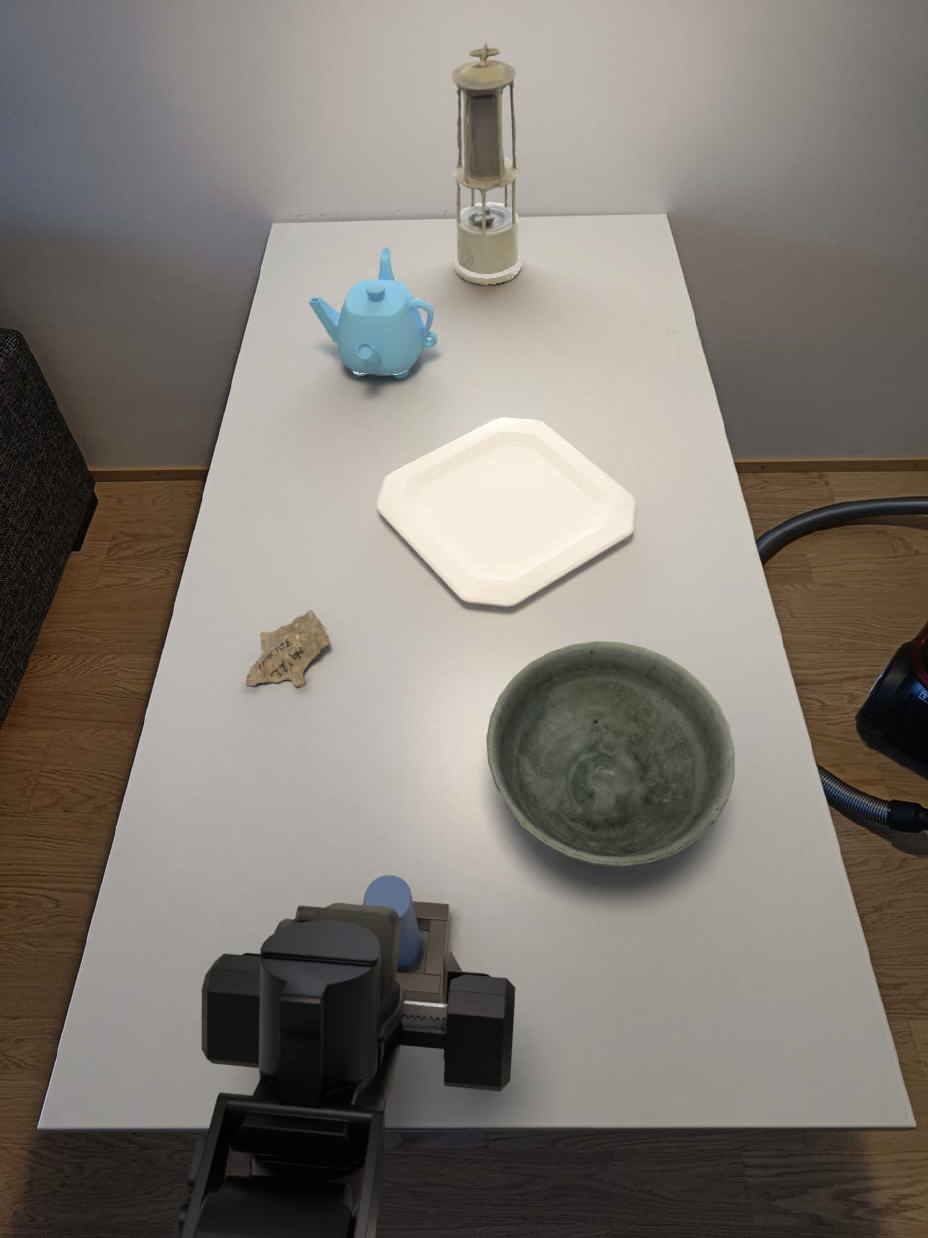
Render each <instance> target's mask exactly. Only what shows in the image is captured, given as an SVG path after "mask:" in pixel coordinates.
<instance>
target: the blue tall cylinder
mask: <svg viewBox="0 0 928 1238" xmlns="http://www.w3.org/2000/svg"><path fill="white" fill-rule="evenodd" d="M413 901H414V900H413V895H412V890H411V888H410V886H409V884H408V883H407V882H406V881H405V880H404V879H402V878H401V877H399V876H397V875H392V874H387V875H382V876H379V877H377V878H375V879H373V881H371V882H370V884H369V885H368V886H367V887H366V890H365V892H364V896H363V903H364V905H368V906H385V907H390V908H392V909H394V910H395V911H396V912H397V913H398V915H399V917H400V920H401V932H400V940H399V952H398V964H397V972H408V973H415V972H416V971H417V970H418V969H419V968H420V966H421V965H422V963H423V960H424V947H423V942H422V938H421V934H420V930H419V928H418V923H417V918H416V914H415V909H414V904H413Z"/></svg>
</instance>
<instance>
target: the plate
mask: <svg viewBox="0 0 928 1238" xmlns="http://www.w3.org/2000/svg"><path fill="white" fill-rule="evenodd" d="M381 483H382V484H381V487H380V491H379V494H378V497H377V501H376V503H375V506H376V511H377V512H378V513H379V514H380V515H381V516H382V517H383V518H384V519H385V520H386V522H387V523H388V524H389V525H390V526H391V527H392V528H393V529H394V530H395V531H396V532H397V533H398V535H400V537H402V538H403V540H404V541H405V542H406V543H407V544H408V545H409V546H410V547H411V548H412V549H413V550H414V551H415V552H416V553H417V554H418V556H419V557H421V558H422V560H423V561H424V562H425V563H426V564H427V565H428V566H429V568H430V569H432V570H433V572H434V573H435V574H436V575H437V576H438V577H439V578H440V579H441V580H442V582H444V583H445V585H447V586H448V587H449V589H450V590H451V591H453V593H454V594H455V595H456V596H457V597H458V598H459V599H460V600H462V601H464V602H466V603H468V604H469V603H471V604H480V605H488V606H489V605H490V606H497V607H509V608H510V607H513V606H517V605H518V604H520V603H522V602H523V601H525V600H526V599H528V598H530V597H531V596H533V595H535V594H537V593H538V592H539V591H541V590H542V589H544V588H546V587H548V586H549V585H551V584H553V583H554V582H556V581H557V580H560V579H561V578H563V577H564V576H566V575H567V574H570V573H571V572H572V571H574V570H576V569H577V568H579V567H581V566H583V565H585V564H586V563H588V562H590V560H592V559H594V558H596V557H597V556H599V555H601V554H602V553H604V552H606V551H607V550H609V549H610V548H612V547H614V546H616V545H617V544H618V543H620V542H622V541H623V540H625V539H627V538H628V537H631V536H632V534H633V533H634V531H635V524H636V523H635V521H636V506H637V504H636V503H637V501H636V499H635V497H634V495H632V494H631V493H630V492H629V491H628V490H626V489H625V488H624V487H622V486H621V485H620V484H619V483H617V481H615V480H614V479H613V478H612V477H611V476H609V475H608V474H607V473H606V472H604V471H603V470H602V469H601V468H600V467H598V466H597V465H596V464H595V463H593V462H592V461H591V460H590V459H588V458H587V457H586V456H585V455H584V454H583V453H581V452H580V451H579V450H578V449H576V448H575V447H574V446H573V445H572V444H571V443H570V442H568V441H567V440H566V439H565V438H563V437H562V436H561V435H560V434H558V433H557V432H556V431H555V430H554V429H552V427H550V426H549V425H547V424H546V422H544V421H542V420H539V419H529V418H518V417H516V418H515V417H505V416H503V417H497V418H495V419H493V420H491V421H488V422H487V423H486V424H483V425H481V426H479V427H477V428H475V429H473V430H472V431H469V432H467V433H466V434H464V435H462V436H460V437H458V438H456V439H454V440H452V441H449V442H448V443H446V444H444V445H442V446H440V447H438V448H436V449H434V450H432V451H430V452H429V453H426V454H424V455H423V456H421V457H418V458H416V459H414V460H412V461H411V462H409V463H407V464H405V465H403V466H401V467H399V468H397V469H395V470H393V471H391V472H389V473H387V475H385V476H384V478H383V480H382V482H381Z"/></svg>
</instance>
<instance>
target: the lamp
mask: <svg viewBox="0 0 928 1238" xmlns="http://www.w3.org/2000/svg"><path fill="white" fill-rule="evenodd" d="M500 54H501V50H500V49H499V48H497V47H488V43H486V42H485V43H484V45H483V47H482V48H478V49H473V50H469V51H468V55H469V57H474V58H479V60H474V61H469V62H466V63H463V64H461V65H458V66H456V67H455V68H454V69H453V71H452V73H451V80H452V82H453V83H454V84H455V86H456V87H457V89H456V94H457V106H458V108H457V119H456V126H457V134H456V141H457V142H456V143H457V149H458V153H457V157H458V159H457V164H456V165H455V167H454V169H453V177H454V179H455V181H456V203H455V204H456V258H455V261H454V267H453V268H454V272H455V273H456V274H457V276H458V277H459V278H461V279H462V280H464V281H465V282H469V283H472V284H477V285H482V286H489V285H488V284H492V285H491V286H493V285H496V284H495V283H499V284H503V283H502V282H504V283H507V282H509V281H511V280H513V279H514V278H515V277H517V276H518V275H519V273H518V274H511V273H513V272H511V273H509V274H507V275H504V276H501V277H497V278H489V279H484V278H475V277H471V276H468V275H466V274H465V273H463V272H462V271H461V270H459V268H458V267H457V265H456V260H457V261H458V263H459V265H460V266H462V267H463V268H465V269H467V270H469V271H471V272H475V273H477V274H478V273H479V274H493V273H498V272H502V271H504V270H506V269H509V268H510V267H512V266H514V265H515V264H516V263H517V262H518V258H519V259H520V262H519V265H518V267H521V266H522V267H523V263H522V259H521V257H520V253H519V252H520V251H519V249H520V248H519V245H520V243H519V215H518V212H517V211H516V203H517V202H516V201H517V200H516V181H517V178H518V176H519V175H520V169H519V166H518V164H517V156H516V151H517V149H516V142H517V129H516V114H515V106H514V87H515V81H514V80H515V78H516V75H517V73H516V69H515V67H514V66H513V65H511V64H509V63H507V62H505V61H500V60H497V59H494V60H493V59H488V58H490V57H496V56H498V55H500ZM522 84H523V85H524V82H522ZM507 87H509V99H510V118H511V144H512V145H511V146H512V147H511V148H512V149H511V150H512V153H511V154H512V159H511V158H510V159H509V158H507V157H505V155H504V145H503V143H504V142H503V101H502V99H503V93H504V90H505V89H506V88H507ZM462 99H463V119H462ZM462 120H463V121H462ZM462 123H463V124H462ZM462 125H463V139H462ZM462 140H463V141H462ZM462 143H463V144H462ZM462 153H463V154H462ZM462 155H463V157H462ZM463 158H464V160H462V159H463ZM461 185H462V186H464V187H465V188H467V189H470V205H468V206H466V207H464V208H463V209H462V210H461V190H462V188H461V187H462V186H461ZM509 185H511V206H509ZM460 186H461V187H460ZM497 188H499V189H501V188H504V203H501V202H495V201H487V199H486V198H487V194H486V193H487V192H488V191H492V190H494V189H497ZM475 190H477V191H479V192H480V196H481V202H477V203H475V193H476V192H475ZM517 269H518V268H517ZM521 271H522V269H521V270H520V272H521ZM515 272H518V271H515ZM512 276H515V277H512ZM508 277H509V278H508ZM510 278H512V279H510Z"/></svg>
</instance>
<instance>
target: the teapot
mask: <svg viewBox="0 0 928 1238" xmlns="http://www.w3.org/2000/svg"><path fill="white" fill-rule="evenodd" d="M379 260H380V263H379V273H378V279H363V280H359V281H358V282H356V283H355V284H354V285H352V287H351V288H350V289H349V291H348V292H347V294H346V296H345V299H344V301H343V304H342V306H341V309H340V313H339V312H338V311H337V310H335V309H334V307H332V306H331V305H330V304H328V303H327V302H326V301H325V300H323V299H322V297H320V296H319V297H318V296H317V297H310V299H309V301H308V304H309V306H310V307H311V309H312V311H313V312H314V314H315V316H316V317H317V319H318V321H320V323H321V324H322V326H323V327H324V329H325V331H326V332H327V334H328V336H329V337H330V339H331V340H332V342H333V343H336V346H337V353H338V356H339V358H340V360H341V362H342V363H343V364H344V365H345V366H346V367H347V369H349V370H350V369H351V370H350V371H352V370H353V371H355V372H359V374H360V373H365V374H367V373H368V374H378V375H377V376H389V375H388V374H398V375H392V376H393V378H395V379H398V380H399V379H400V380H402V379H405V378H407V377H408V376H409V374H410V371H409V370H410V369H411V368H412V367H413V366H414V364H415V363H416V362H417V360H418V359H419V357H420V355H421V354H422V352H423V350H424V347H425V348H432V347H435V346H436V345H437V344H438V335H437V334H436V333H435V332H434V331H430V330H431V328H432V325H433V321H434V317H435V314H434V312H435V311H434V307H433V306H432V305H431V303H430V302H428V301H426V300H424V299H422V298H415V297H414V296H413V295H412V293H411V291H410V290H409V289H408V287H407V286H406V285H405V284H404V283H403V282H401V281H398V280H395V276H394V273H393V269H392V262H391V250H390V249H389V248H388V247H384V248H383V249H382V250H381V253H380V259H379ZM420 309H422V310H424V311H425V312H426V313H427V316H426V317H427V318H426V321H425V324H424V320H423V318H422V314H421V310H420ZM409 368H410V369H409ZM408 369H409V370H408ZM407 370H408V371H407ZM353 371H352V372H353ZM405 371H406V372H405ZM403 372H404V373H403ZM399 373H402V374H399ZM365 374H361V375H358V374H356V375H357V376H356V377H357V378H361V376H362V375H365ZM380 374H381V375H380Z"/></svg>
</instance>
